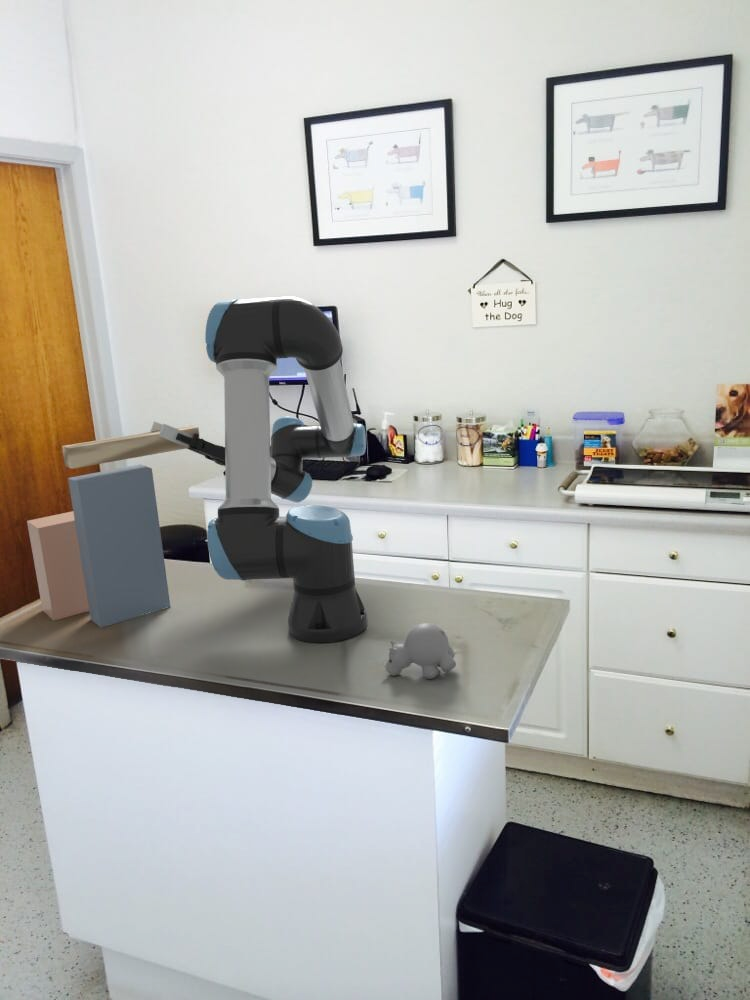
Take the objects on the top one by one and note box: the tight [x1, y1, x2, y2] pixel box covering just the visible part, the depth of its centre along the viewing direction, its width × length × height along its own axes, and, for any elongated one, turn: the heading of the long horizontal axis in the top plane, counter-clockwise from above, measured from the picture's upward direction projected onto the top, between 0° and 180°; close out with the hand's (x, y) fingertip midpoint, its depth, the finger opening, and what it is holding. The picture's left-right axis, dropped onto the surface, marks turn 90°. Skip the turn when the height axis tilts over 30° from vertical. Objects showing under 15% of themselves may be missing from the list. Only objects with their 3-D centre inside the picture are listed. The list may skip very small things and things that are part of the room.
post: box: [67, 463, 171, 628], centre depth 176 cm, size 6×15×30 cm, turn 127°
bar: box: [61, 425, 201, 470], centre depth 174 cm, size 4×27×4 cm, turn 126°
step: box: [26, 510, 89, 622], centre depth 182 cm, size 8×10×20 cm
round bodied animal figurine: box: [380, 622, 457, 680], centre depth 143 cm, size 7×12×8 cm, turn 84°
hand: (157, 428), depth 176 cm, fingers closed on bar, 4 cm apart
